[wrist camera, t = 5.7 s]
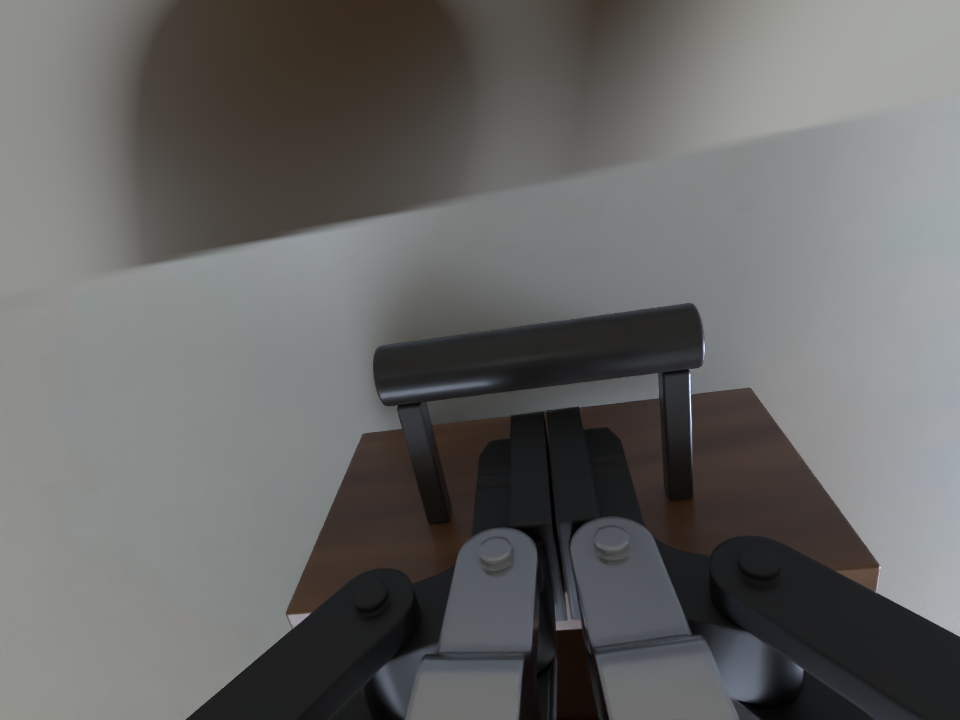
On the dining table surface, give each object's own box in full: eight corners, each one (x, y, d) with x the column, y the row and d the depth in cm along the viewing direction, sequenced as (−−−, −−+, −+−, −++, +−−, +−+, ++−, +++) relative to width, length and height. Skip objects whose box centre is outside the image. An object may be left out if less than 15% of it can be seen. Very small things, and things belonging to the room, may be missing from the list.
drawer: (320, 296, 18) (202, 429, 11) (754, 230, 16) (917, 341, 10) (447, 709, 26) (423, 926, 19) (742, 693, 24) (826, 924, 18)
